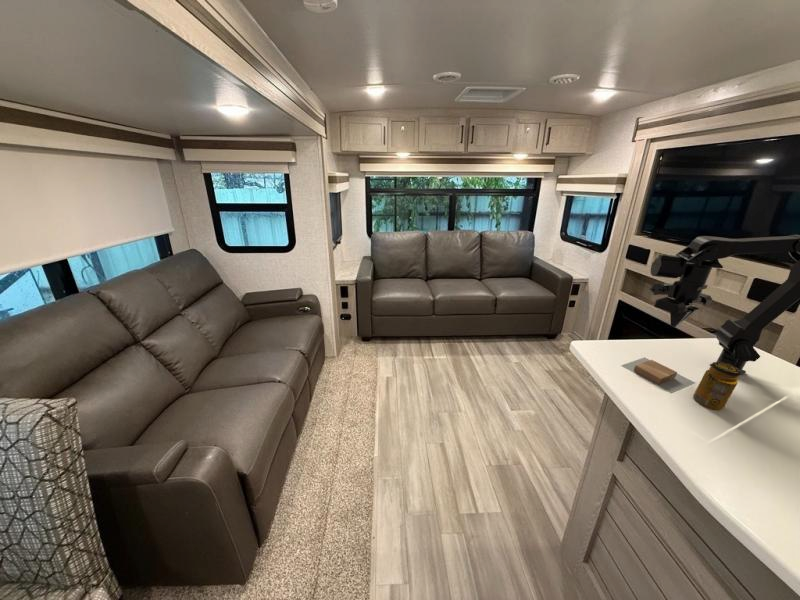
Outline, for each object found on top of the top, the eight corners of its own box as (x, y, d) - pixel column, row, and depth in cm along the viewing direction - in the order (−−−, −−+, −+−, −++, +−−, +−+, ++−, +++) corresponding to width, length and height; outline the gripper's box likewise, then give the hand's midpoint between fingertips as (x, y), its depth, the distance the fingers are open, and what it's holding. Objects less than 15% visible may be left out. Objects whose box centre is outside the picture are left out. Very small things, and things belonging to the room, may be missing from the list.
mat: (644, 358, 102) (644, 357, 102) (694, 383, 90) (695, 382, 90) (620, 366, 97) (620, 365, 97) (670, 394, 85) (671, 393, 85)
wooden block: (651, 359, 96) (635, 365, 93) (677, 372, 90) (661, 378, 88) (649, 365, 97) (633, 371, 94) (674, 378, 91) (658, 385, 88)
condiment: (728, 406, 81) (749, 369, 77) (718, 420, 77) (740, 381, 72) (693, 391, 87) (710, 355, 82) (682, 402, 83) (700, 365, 78)
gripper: (679, 268, 101) (662, 311, 107) (644, 275, 94) (628, 320, 100) (722, 279, 92) (701, 325, 98) (687, 287, 85) (666, 336, 91)
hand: (673, 326), depth 97 cm, fingers closed
